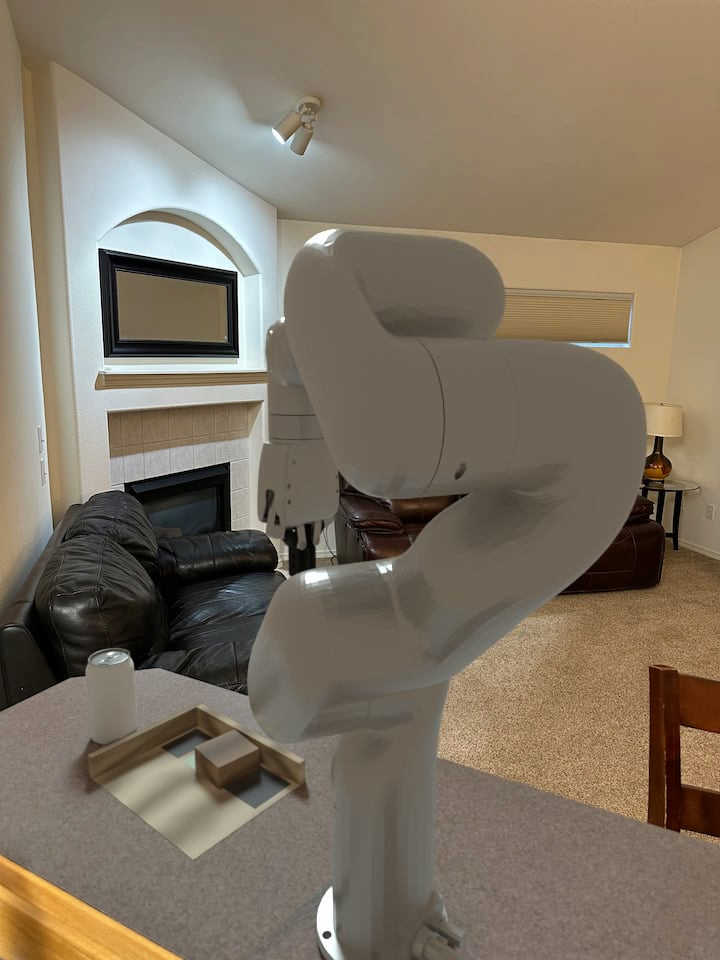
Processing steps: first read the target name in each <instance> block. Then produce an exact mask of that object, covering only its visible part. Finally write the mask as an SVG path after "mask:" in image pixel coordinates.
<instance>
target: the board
mask: <svg viewBox="0 0 720 960" xmlns="http://www.w3.org/2000/svg"><path fill="white" fill-rule="evenodd" d="M234 729H235V730H236V731H237V732H238V733H240V734H241V735H242V736H244V737H245V738H246V739H248V740H249V741H250V742H251V743H253V744H254V745H255V746H257V747H258V748H259V758H260V770H258V771H256V772H254V773H252V774H250V775H248V776H246V777H244V778H242V779H240V780H238V781H236V782H234V783H232V784H230V785H228V786H226V787H224V788H222V789H220V790H219V789H218V788H217V787H216V786H215V785H213V784H212V783H211V782H210V781H209V780H208V779H207V778H206V777H205V776H204V775H202V774H201V773H199V772H198V771H196V770H195V769H193V768H192V767H190V766H189V765H187V764H186V763H184V762H182V761H184V760H185V759H187V758H189V757H191V756H193V755H194V754H195V749H194V747H195V746H197V745H200V744H202V743H204V742H207V741H209V740H211V739H213V738H216V737H218V736H220V735H223V734H225V733H227V732H229V731H232V730H234ZM86 758H87V767H88V777H89V778H90V779H91V780H92V781H94V782H95V783H96V784H97V785H99V786H100V787H101V788H102V789H104V790H105V791H106V792H108V793H109V794H110V795H111V796H112V797H114V798H115V799H116V800H117V801H119V802H120V803H121V804H122V805H124V806H125V807H126V808H128V810H130V811H131V812H132V813H134V814H135V816H137V817H138V818H140V819H141V820H142V821H144V822H145V823H146V824H147V825H149V826H150V827H151V828H152V829H154V830H155V831H156V832H157V833H159V834H160V835H161V836H162V837H164V838H165V839H166V840H167V841H168V842H170V843H171V844H172V845H173V846H174V847H176V848H177V849H178V850H180V851H181V852H183V853H184V854H185V855H186V856H187V857H189V858H190V859H191V860H192V861H194V860H196V859H197V858H199V857H200V856H202V855H203V854H204V853H206V852H207V851H208V850H210V849H212V848H213V847H214V846H216V845H217V844H218V843H220V842H221V841H223V840H224V839H226V838H227V837H228V836H230V835H232V834H233V833H234V832H236V831H238V829H240V828H241V827H243V826H245V825H246V824H247V823H248V822H251V821H252V820H253V819H254V818H257V816H258V815H260V814H262V813H263V812H264V811H266V810H267V809H269V808H271V806H273V805H274V804H276V803H277V802H279V801H280V800H282V799H283V798H284V797H286V796H288V794H290V793H292V792H293V791H294V790H296V789H297V788H299V787H301V785H303V784H304V783H306V758H305V759H304V758H303V757H301V756H299V755H297V754H295V753H293V752H291V751H290V750H289V749H286V748H284V747H282V746H281V745H278V744H277V743H275V742H273V741H271V740H269V739H268V738H266V737H263V736H261V735H260V734H258V733H256V732H255V731H252V730H251V729H249V728H247V727H246V726H243V725H242V724H240V723H238V722H236V721H234V720H232V719H231V718H229V717H227V716H225V715H223V714H221V713H220V712H217V710H215V709H212V708H210V707H209V706H206V705H205V704H202V703H201V702H200V701H197V702H195V703H194V704H191V705H188V706H187V707H185V708H182V709H181V710H178V711H176V712H174V713H173V714H170V715H168V716H166V717H164V718H161V719H160V720H158V721H155V722H153V723H152V724H149V725H147V726H145V727H142V728H141V729H139V730H135V731H133V732H132V733H130V734H128V735H127V736H124V737H122V738H119V739H118V740H115V741H112V743H111V742H110V743H108V744H106V745H104V746H103V747H101V748H99V749H97V750H94V751H93V752H91V753H89V754H87V757H86Z"/></svg>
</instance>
